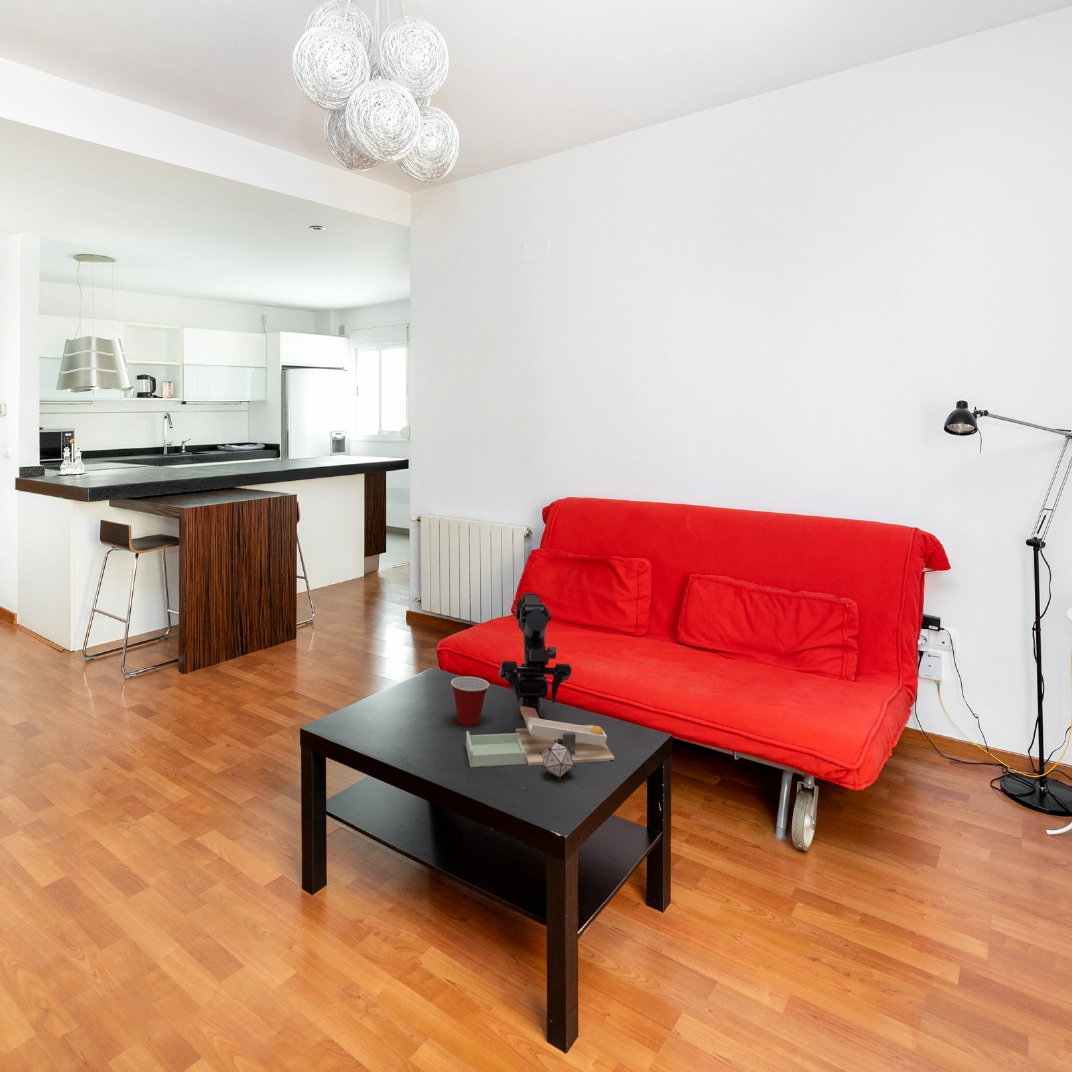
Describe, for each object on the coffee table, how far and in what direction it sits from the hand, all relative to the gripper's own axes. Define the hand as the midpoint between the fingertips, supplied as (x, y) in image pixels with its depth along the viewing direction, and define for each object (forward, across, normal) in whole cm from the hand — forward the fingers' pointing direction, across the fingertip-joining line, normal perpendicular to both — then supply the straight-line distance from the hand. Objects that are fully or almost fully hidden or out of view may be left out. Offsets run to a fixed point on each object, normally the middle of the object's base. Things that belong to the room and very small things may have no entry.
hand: (535, 702), depth 190 cm
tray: (+13, -10, +4) cm, 17 cm away
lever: (+5, +8, +6) cm, 11 cm away
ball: (+7, +16, 0) cm, 18 cm away
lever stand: (+9, +8, +6) cm, 14 cm away
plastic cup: (0, -15, +22) cm, 26 cm away
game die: (+20, +4, -6) cm, 21 cm away
